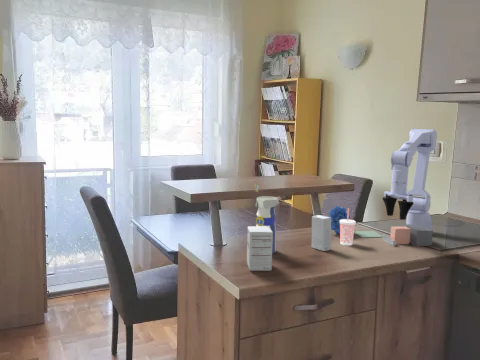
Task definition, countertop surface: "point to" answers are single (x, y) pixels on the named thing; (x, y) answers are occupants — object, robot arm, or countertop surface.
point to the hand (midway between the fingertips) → (396, 217)
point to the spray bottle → (267, 214)
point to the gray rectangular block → (420, 235)
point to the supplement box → (259, 248)
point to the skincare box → (321, 232)
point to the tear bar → (388, 240)
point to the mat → (367, 234)
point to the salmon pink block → (400, 235)
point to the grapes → (337, 217)
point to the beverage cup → (347, 230)
